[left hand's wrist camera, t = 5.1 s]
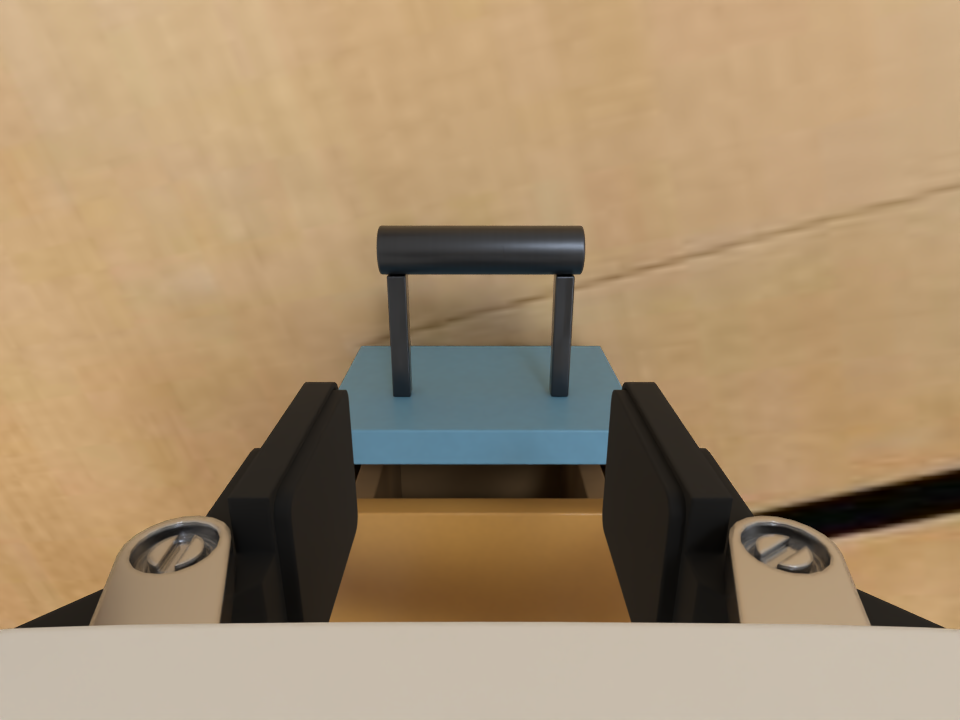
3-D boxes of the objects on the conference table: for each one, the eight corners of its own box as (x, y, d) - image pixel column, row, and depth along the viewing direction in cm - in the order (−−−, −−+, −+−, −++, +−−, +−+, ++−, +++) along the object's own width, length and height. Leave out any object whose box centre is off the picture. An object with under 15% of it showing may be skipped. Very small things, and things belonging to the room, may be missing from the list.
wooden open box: (354, 387, 28) (294, 513, 19) (606, 387, 28) (667, 513, 19) (376, 684, 34) (338, 887, 25) (584, 684, 34) (622, 886, 25)
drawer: (351, 206, 24) (295, 241, 17) (610, 206, 24) (666, 241, 17) (381, 647, 32) (352, 801, 25) (579, 647, 32) (608, 801, 25)
